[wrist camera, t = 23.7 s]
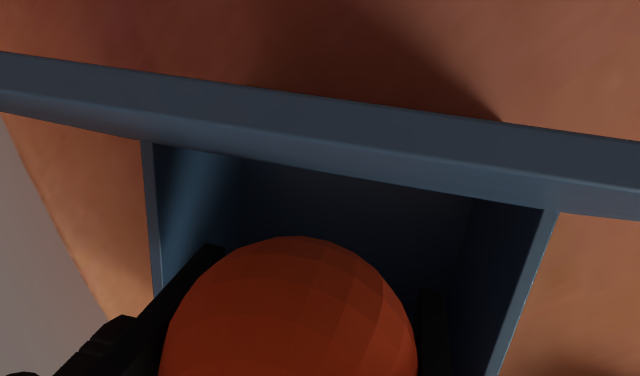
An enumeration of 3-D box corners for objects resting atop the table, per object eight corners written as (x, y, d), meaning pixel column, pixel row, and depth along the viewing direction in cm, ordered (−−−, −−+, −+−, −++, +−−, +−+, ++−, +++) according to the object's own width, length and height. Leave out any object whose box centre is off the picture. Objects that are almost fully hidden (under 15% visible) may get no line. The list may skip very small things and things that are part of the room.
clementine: (303, 398, 17) (235, 633, 10) (176, 286, 16) (17, 469, 10) (462, 301, 14) (506, 558, 7) (313, 154, 13) (211, 297, 6)
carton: (241, 85, 23) (123, 134, 14) (503, 122, 21) (575, 210, 11) (237, 338, 30) (159, 480, 21) (428, 384, 28) (435, 565, 19)
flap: (126, 138, 14) (128, 126, 14) (571, 213, 12) (573, 199, 12) (-372, 33, 5) (-367, -2, 5) (1235, 289, 3) (1250, 226, 3)
